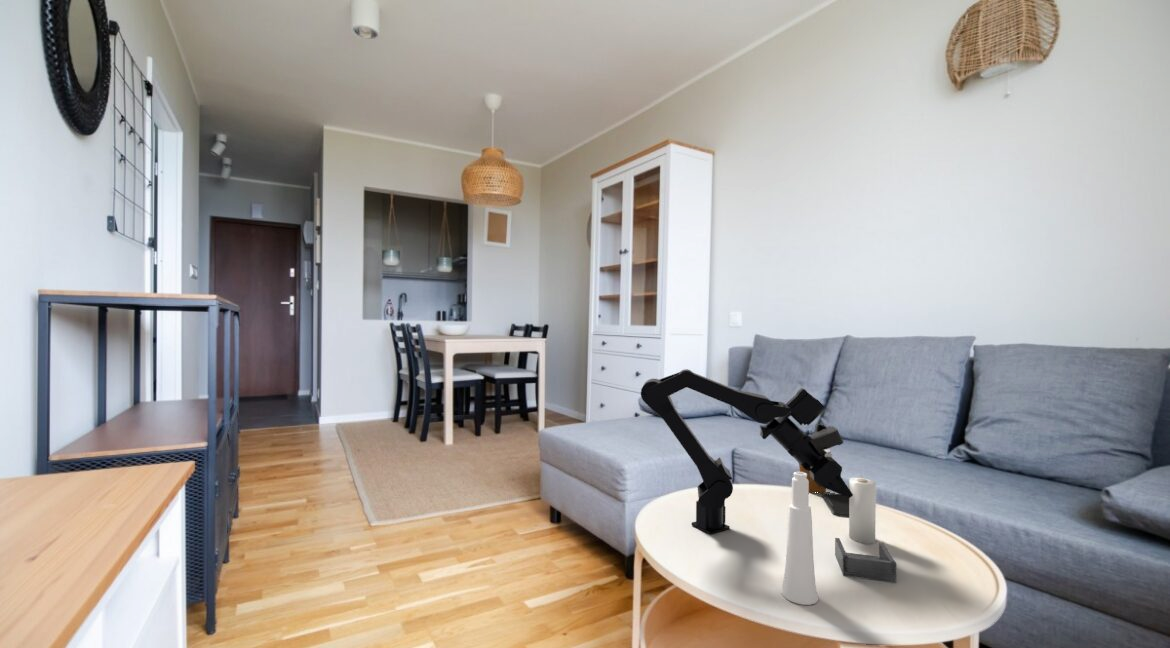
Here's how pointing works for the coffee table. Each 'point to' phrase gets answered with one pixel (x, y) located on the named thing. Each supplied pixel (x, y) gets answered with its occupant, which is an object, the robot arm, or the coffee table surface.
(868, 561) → the tray
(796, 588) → the cosmetic bottle
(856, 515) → the paper roll
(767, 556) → the coffee table surface
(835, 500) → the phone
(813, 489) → the disposable coffee cup
